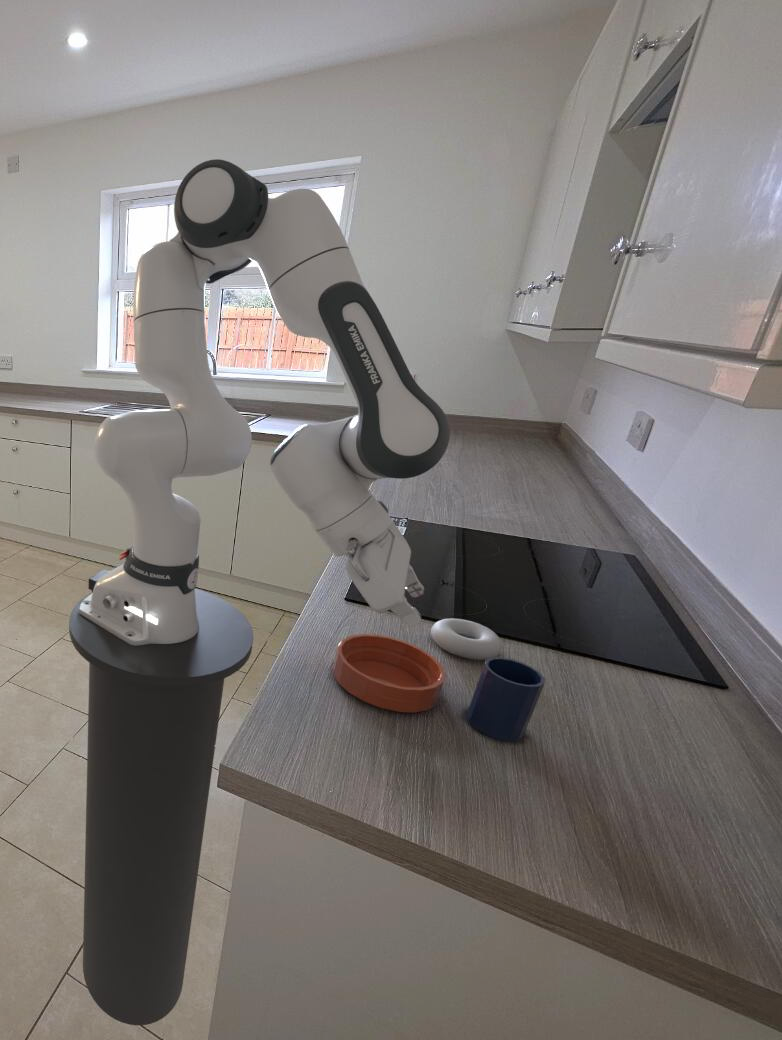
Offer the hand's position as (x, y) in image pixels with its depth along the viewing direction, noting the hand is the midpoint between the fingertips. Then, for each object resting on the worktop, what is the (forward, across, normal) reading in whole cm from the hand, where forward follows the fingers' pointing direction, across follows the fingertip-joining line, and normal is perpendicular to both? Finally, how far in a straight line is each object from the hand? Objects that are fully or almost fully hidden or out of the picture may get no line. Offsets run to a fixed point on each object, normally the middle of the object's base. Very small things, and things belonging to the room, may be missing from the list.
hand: (418, 607), depth 79 cm
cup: (+19, 0, +2) cm, 19 cm away
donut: (+17, +20, +4) cm, 27 cm away
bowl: (+9, +2, +12) cm, 15 cm away
